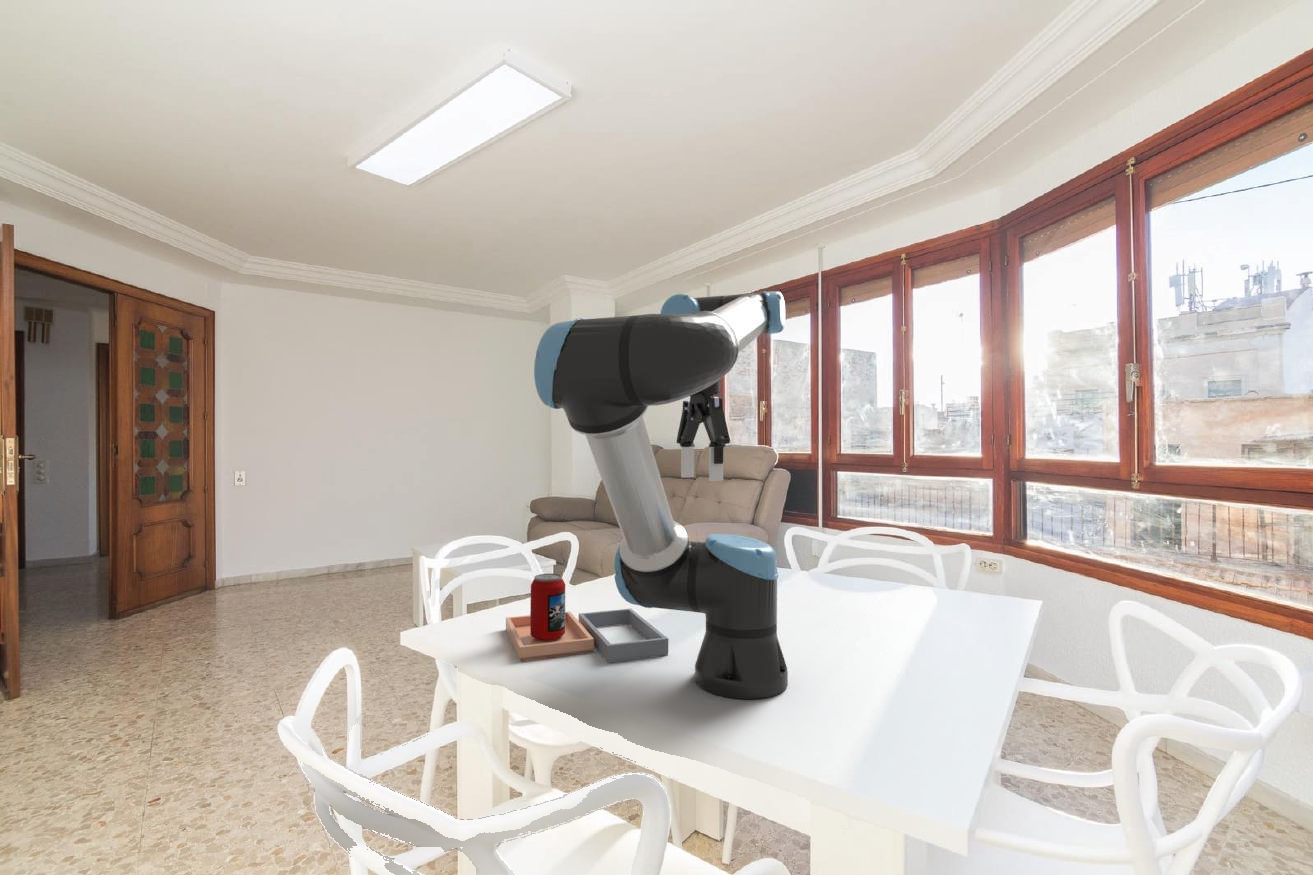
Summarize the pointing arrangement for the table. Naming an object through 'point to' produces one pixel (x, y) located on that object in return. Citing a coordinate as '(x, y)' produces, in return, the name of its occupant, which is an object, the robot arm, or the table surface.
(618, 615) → the grey bin
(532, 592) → the beverage can
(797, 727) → the table surface
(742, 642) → the robot arm
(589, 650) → the terracotta dish
